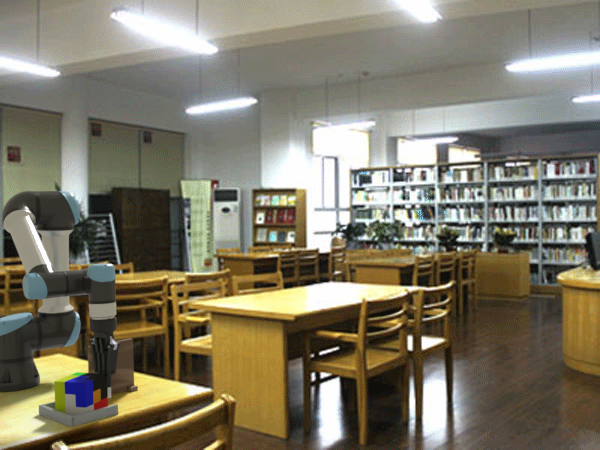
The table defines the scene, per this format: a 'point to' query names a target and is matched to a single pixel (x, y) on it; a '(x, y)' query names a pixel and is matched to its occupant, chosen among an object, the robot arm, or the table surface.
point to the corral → (79, 419)
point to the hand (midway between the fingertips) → (105, 398)
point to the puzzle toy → (81, 393)
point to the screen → (120, 368)
